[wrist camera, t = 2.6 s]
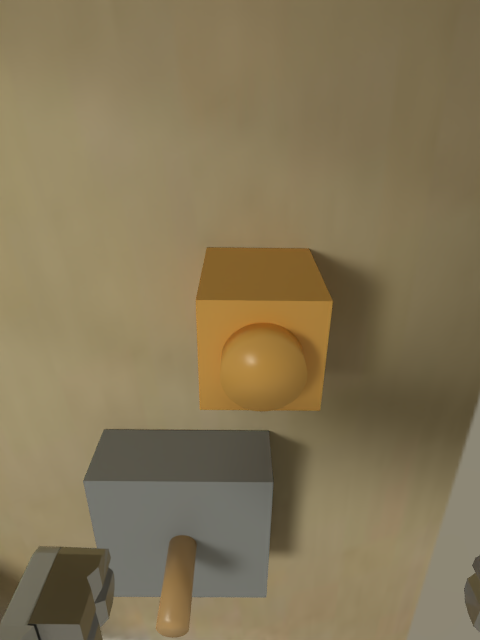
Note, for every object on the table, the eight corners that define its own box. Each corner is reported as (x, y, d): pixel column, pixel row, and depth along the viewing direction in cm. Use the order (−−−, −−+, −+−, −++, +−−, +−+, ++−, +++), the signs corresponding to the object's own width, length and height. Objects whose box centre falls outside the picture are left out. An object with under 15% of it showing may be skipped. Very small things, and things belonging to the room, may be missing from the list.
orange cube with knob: (209, 336, 24) (197, 429, 17) (206, 247, 22) (192, 314, 15) (301, 337, 24) (324, 430, 17) (309, 248, 22) (339, 315, 15)
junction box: (122, 539, 31) (84, 681, 24) (103, 429, 27) (50, 561, 19) (263, 540, 31) (270, 681, 24) (268, 430, 27) (280, 562, 19)
